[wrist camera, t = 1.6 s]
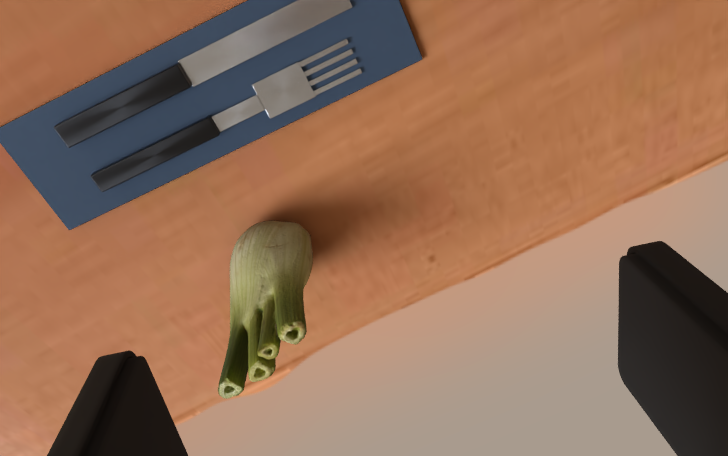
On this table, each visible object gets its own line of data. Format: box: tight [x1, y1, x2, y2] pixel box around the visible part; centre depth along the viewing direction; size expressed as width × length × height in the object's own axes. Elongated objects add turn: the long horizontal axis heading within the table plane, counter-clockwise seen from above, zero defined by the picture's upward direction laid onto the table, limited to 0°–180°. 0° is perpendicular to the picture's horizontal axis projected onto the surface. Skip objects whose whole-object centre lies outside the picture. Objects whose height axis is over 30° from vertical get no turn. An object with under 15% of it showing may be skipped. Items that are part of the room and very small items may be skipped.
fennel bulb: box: [218, 220, 313, 398], centre depth 33 cm, size 6×5×12 cm
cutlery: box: [54, 0, 362, 192], centre depth 33 cm, size 18×5×1 cm, turn 115°
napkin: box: [0, 0, 422, 230], centre depth 33 cm, size 24×7×1 cm, turn 115°
